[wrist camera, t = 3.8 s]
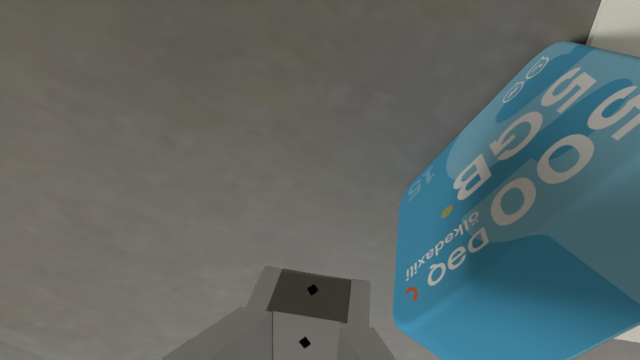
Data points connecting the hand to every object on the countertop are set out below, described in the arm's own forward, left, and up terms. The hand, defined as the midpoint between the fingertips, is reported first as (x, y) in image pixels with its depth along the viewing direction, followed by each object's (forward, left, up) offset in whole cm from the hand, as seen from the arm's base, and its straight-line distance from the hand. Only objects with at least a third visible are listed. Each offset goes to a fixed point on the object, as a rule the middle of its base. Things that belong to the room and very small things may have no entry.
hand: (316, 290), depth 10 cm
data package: (-8, 0, -14) cm, 16 cm away
